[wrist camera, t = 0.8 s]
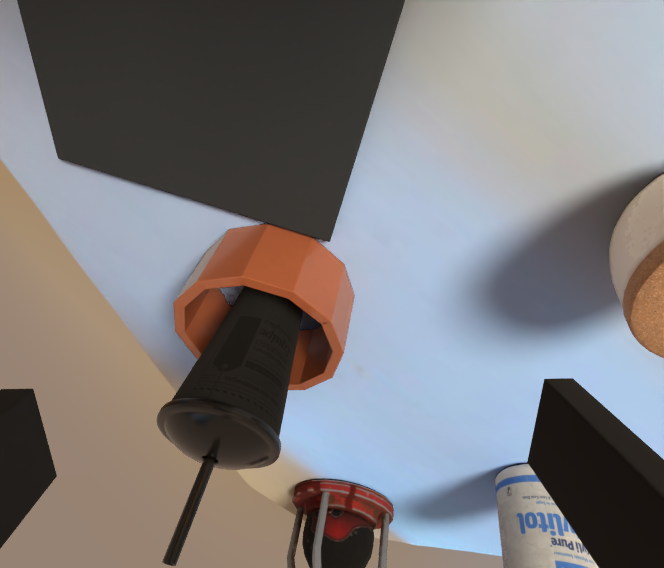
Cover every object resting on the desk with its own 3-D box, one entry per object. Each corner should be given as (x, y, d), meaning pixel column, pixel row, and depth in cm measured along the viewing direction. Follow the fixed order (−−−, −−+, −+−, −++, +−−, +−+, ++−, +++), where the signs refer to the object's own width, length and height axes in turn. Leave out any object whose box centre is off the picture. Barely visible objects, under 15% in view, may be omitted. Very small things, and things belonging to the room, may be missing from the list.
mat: (-11, -143, 18) (-22, -144, 18) (405, -2, 19) (404, 0, 19) (63, 154, 29) (57, 158, 28) (331, 237, 30) (329, 242, 29)
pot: (208, 204, 29) (170, 254, 25) (371, 254, 30) (362, 312, 26) (204, 312, 38) (176, 364, 34) (331, 350, 39) (319, 405, 34)
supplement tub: (574, 457, 44) (620, 630, 34) (585, 493, 49) (628, 652, 39) (483, 462, 49) (499, 617, 38) (502, 495, 54) (521, 639, 43)
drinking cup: (217, 279, 35) (69, 541, 20) (272, 235, 30) (131, 529, 16) (283, 328, 38) (194, 587, 23) (341, 295, 33) (275, 587, 19)
